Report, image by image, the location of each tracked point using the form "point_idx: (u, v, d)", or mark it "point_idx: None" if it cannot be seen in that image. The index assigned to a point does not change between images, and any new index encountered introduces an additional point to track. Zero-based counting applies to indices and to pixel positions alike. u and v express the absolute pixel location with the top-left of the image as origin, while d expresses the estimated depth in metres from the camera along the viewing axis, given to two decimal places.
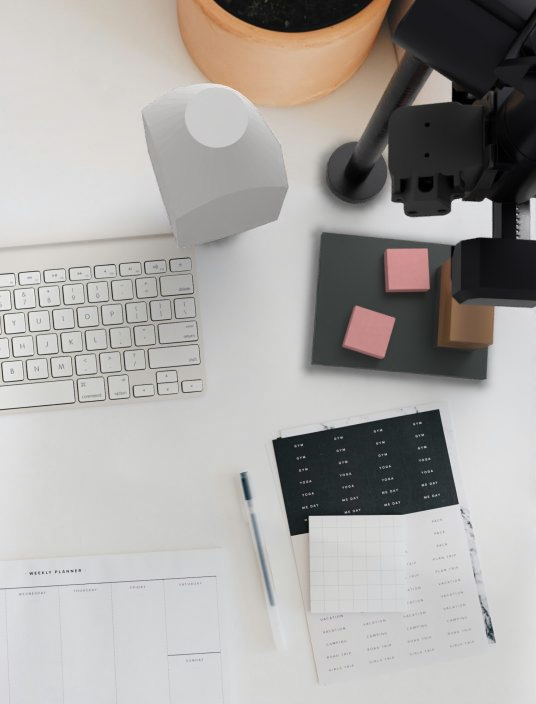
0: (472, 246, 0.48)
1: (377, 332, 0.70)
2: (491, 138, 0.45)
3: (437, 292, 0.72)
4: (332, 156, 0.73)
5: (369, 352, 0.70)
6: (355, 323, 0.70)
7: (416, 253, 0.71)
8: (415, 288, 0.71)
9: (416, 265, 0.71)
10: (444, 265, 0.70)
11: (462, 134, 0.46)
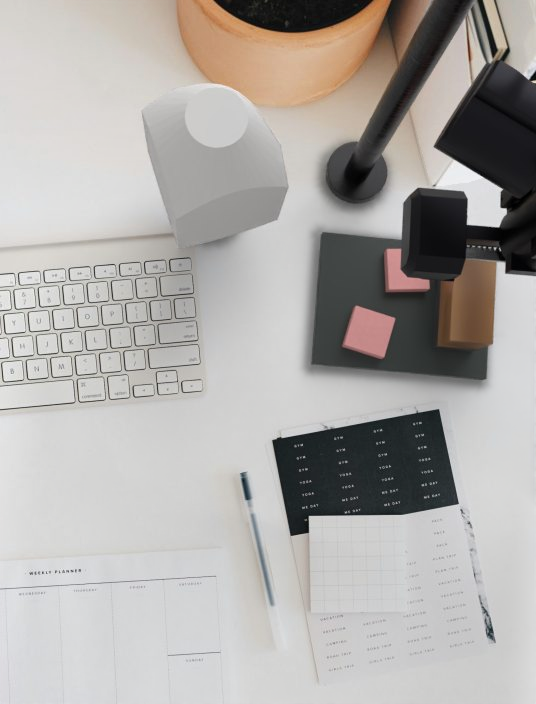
0: (459, 195, 0.53)
1: (377, 332, 0.70)
2: None
3: (437, 292, 0.72)
4: (332, 156, 0.73)
5: (369, 352, 0.70)
6: (355, 323, 0.70)
7: None
8: (415, 288, 0.71)
9: None
10: None
11: None
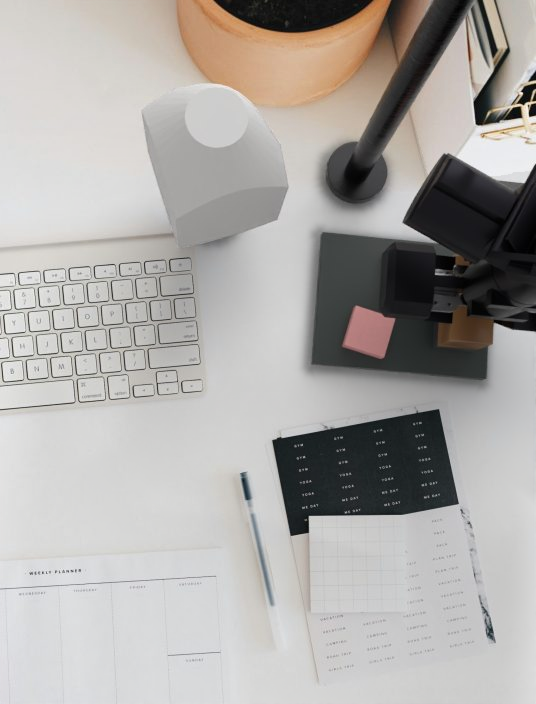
0: (428, 249, 0.62)
1: (377, 332, 0.70)
2: None
3: None
4: (332, 156, 0.73)
5: (369, 352, 0.70)
6: (355, 323, 0.70)
7: None
8: None
9: None
10: None
11: None
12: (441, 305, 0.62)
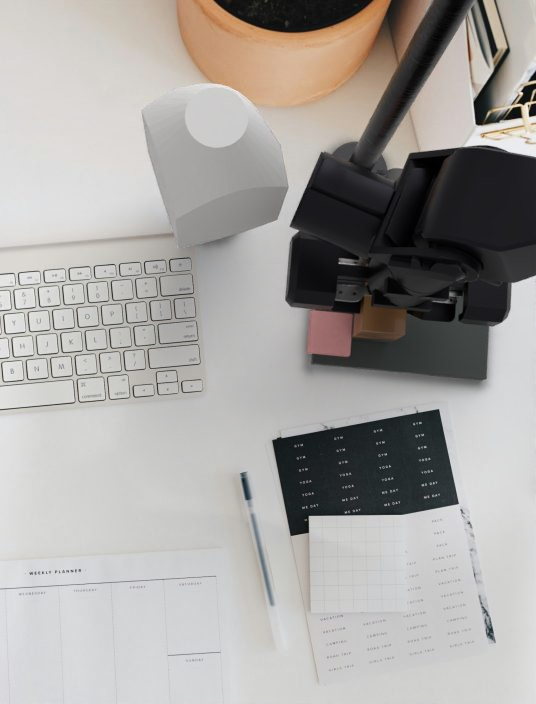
0: None
1: (338, 332, 0.70)
2: None
3: None
4: None
5: (334, 353, 0.70)
6: (314, 327, 0.70)
7: None
8: None
9: None
10: None
11: None
12: (346, 295, 0.62)
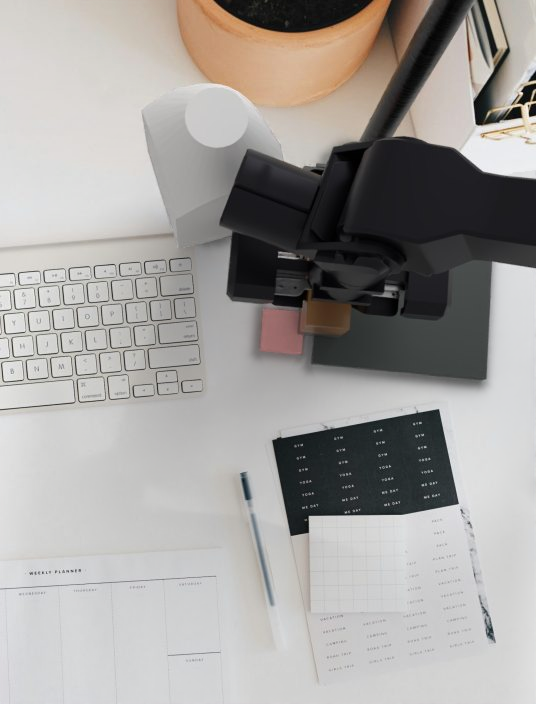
0: None
1: (290, 330, 0.71)
2: None
3: None
4: None
5: (286, 351, 0.71)
6: (266, 326, 0.71)
7: None
8: None
9: None
10: None
11: None
12: (287, 289, 0.62)
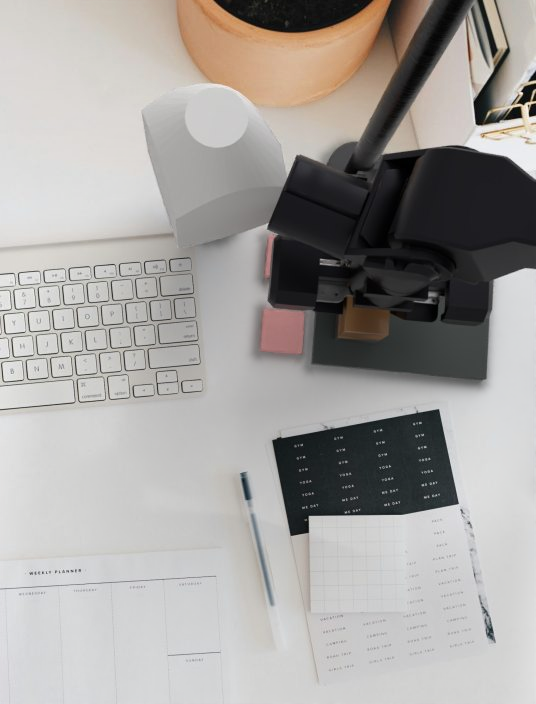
0: None
1: (290, 330, 0.71)
2: None
3: None
4: (332, 156, 0.73)
5: (286, 351, 0.71)
6: (266, 326, 0.71)
7: None
8: None
9: None
10: None
11: None
12: (328, 295, 0.62)
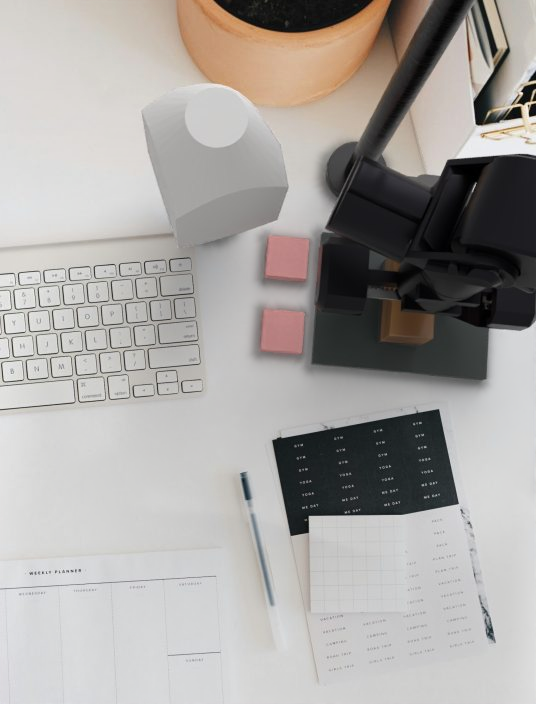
0: None
1: (290, 330, 0.71)
2: None
3: (381, 287, 0.71)
4: (332, 156, 0.73)
5: (286, 351, 0.71)
6: (267, 326, 0.71)
7: (297, 243, 0.72)
8: (292, 277, 0.72)
9: (296, 254, 0.72)
10: (387, 260, 0.70)
11: None
12: None
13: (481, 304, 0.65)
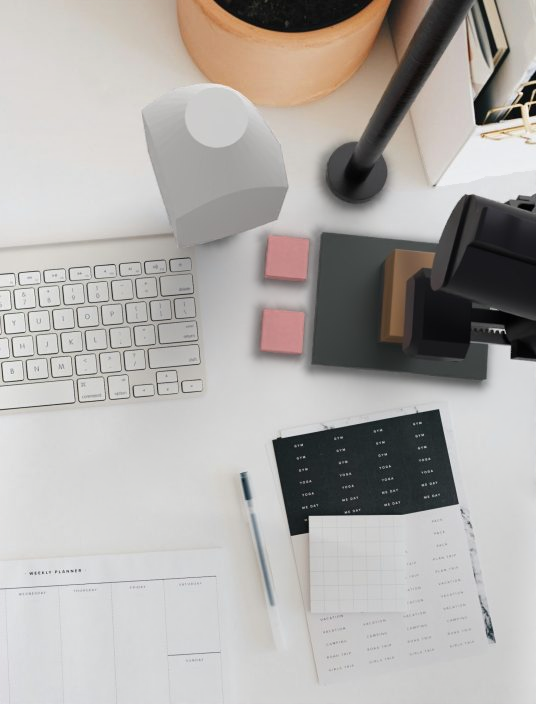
0: None
1: (290, 330, 0.71)
2: None
3: (381, 287, 0.71)
4: (332, 156, 0.73)
5: (286, 351, 0.71)
6: (267, 326, 0.71)
7: (297, 243, 0.72)
8: (292, 277, 0.72)
9: (296, 254, 0.72)
10: (387, 260, 0.70)
11: None
12: None
13: None
